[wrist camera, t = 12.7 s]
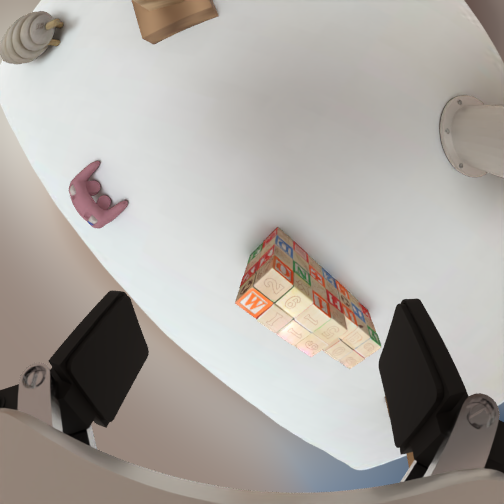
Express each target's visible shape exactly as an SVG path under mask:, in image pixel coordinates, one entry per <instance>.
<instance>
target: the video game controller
mask: <svg viewBox="0 0 504 504" xmlns="http://www.w3.org/2000/svg"><path fill="white" fill-rule="evenodd" d="M99 165H100V162H99V161H95V162H92V163H91V164H89V165H88V166H87V167H85V168H84V169H83V170H82V171H81V172H80V173H79V174H78V175H76V176H75V178H74V179H73V180H72V181H71V183H70V186H69V193H70V196H71V200H72V203H73V205H74V207H75V208H76V210H77V212H78V213H79V214H80V215H81V216H82V217H83V218H84V219H85V220H86V221H87V222H88V223H89V224H90V225H91V226H92V227H94V228H102V227H103V226H105V225H106V224H108V223H109V222H111V221H112V220H114V219H115V218H116V217H117V216H118V215H119V214H120V213H121V212H122V211H123V210H124V209H125V208H126V207H127V205H128V202H127V201H122V202H120V203H118V204H116V205H115V206H113V207H112V208H110V209H108V208H109V206H110V203H111V200H110V198H109V197H108V196H105V195H103V196H100V197H99V199H98V201H97V203H96V202H95V201H94V200H93V198H92V197H91V196H94V195H96V194H97V193H98V192H99V190H100V184H99V183H98V182H97V181H88V179H89V177H90V176H91V175H92V174H93V173H94V172H95V170H96V169H97V168H98V166H99Z"/></svg>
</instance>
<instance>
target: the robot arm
mask: <svg viewBox="0 0 504 504" xmlns="http://www.w3.org/2000/svg"><path fill="white" fill-rule="evenodd" d="M440 135H441V142H442V145H443V149H444V151H445V154H446V156H447V158H448V160H449V161H450V163H451V164H452V165H453V166H454V168H455V169H457V170H458V171H459V172H460V173H462V174H464V175H467V176H469V177H481V176H483V175H485V174H487V173H491V174H494V175H496V176H499V177H502V178H504V106H498V105H484V104H483V103H482V102H481V101H480V100H478V99H477V98H474V97H472V96H467V95H463V96H458V97H455V98H453V99H451V100H450V101H449V102H448V103H447V105H446V106H445V108H444V110H443V113H442V116H441V122H440ZM148 352H149V351H148V347H147V344H146V342H145V339H144V336H143V334H142V331H141V328H140V326H139V323H138V320H137V317H136V314H135V311H134V308H133V305H132V302H131V299H130V298H129V297H128V296H127V294H126V293H125V292H121V291H110V292H108V293H107V294H106V295H105V296H104V298H103V299H102V300H101V301H100V302H99V303H98V304H97V305H96V306H95V307H94V308H93V309H92V310H91V312H90V313H89V314H88V315H87V316H86V317H85V318H84V319H83V321H82V322H81V323H80V324H79V325H78V326H77V327H76V329H75V330H74V331H73V332H72V333H71V334H70V335H69V337H68V338H67V339H66V340H65V341H64V343H63V344H62V345H61V346H60V347H59V349H58V350H57V351H56V352H55V354H54V355H53V356H52V357H51V358H50V360H49V362H50V364H51V365H52V369H51V370H50V369H49V367H48V366H47V365H46V364H44V363H34V364H32V365H30V366H29V367H27V368H26V369H25V370H24V371H23V373H22V374H21V377H20V380H19V384H18V385H15V386H12V387H9V388H6V389H3V390H0V504H504V422H502V421H500V420H499V409H498V406H497V404H496V402H495V401H494V400H493V399H492V398H491V397H489V396H487V395H485V394H481V393H479V394H473V395H471V396H468V394H467V392H466V389H465V386H464V384H463V382H462V379H461V377H460V375H459V373H458V371H457V368H456V366H455V364H454V362H453V360H452V358H451V356H450V354H449V352H448V350H447V348H446V346H445V344H444V342H443V340H442V338H441V336H440V334H439V333H438V331H437V329H436V327H435V325H434V323H433V322H432V320H431V318H430V316H429V314H428V313H427V311H426V309H425V308H424V306H423V304H422V302H421V301H420V300H419V299H404V300H402V302H401V304H398V305H397V306H396V309H395V313H394V316H393V320H392V323H391V326H390V329H389V333H388V336H387V339H386V342H385V345H384V348H383V351H382V354H381V356H380V359H379V371H380V375H381V379H382V383H383V387H384V392H385V396H386V401H387V405H388V410H389V415H390V420H391V425H392V431H393V436H394V442H395V446H396V447H397V448H399V447H400V452H401V454H406V453H410V452H413V457H414V462H413V463H412V465H411V466H410V468H409V470H408V471H407V473H406V474H405V476H404V477H403V479H402V480H401V482H400V483H395V484H390V485H384V486H379V487H372V488H364V489H356V490H347V491H337V492H321V493H279V492H262V491H251V490H242V489H234V488H227V487H220V486H214V485H208V484H204V483H199V482H194V481H189V480H185V479H181V478H177V477H173V476H169V475H166V474H163V473H159V472H156V471H153V470H149V469H146V468H143V467H140V466H137V465H135V464H132V463H129V462H126V461H124V460H121V459H118V458H116V457H114V456H111V455H109V454H106V453H104V452H102V451H100V450H97V447H96V443H95V440H94V435H93V431H92V427H91V423H92V422H93V421H94V422H95V423H96V424H98V425H101V426H103V427H107V425H108V424H109V422H111V421H113V420H114V418H115V416H116V414H117V412H118V410H119V408H120V406H121V404H122V403H123V401H124V399H125V397H126V395H127V393H128V391H129V390H130V388H131V386H132V384H133V382H134V380H135V379H136V377H137V375H138V373H139V371H140V369H141V368H142V366H143V364H144V362H145V361H146V359H147V356H148Z"/></svg>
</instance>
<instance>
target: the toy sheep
mask: <svg viewBox="0 0 504 504" xmlns="http://www.w3.org/2000/svg"><path fill="white" fill-rule="evenodd" d="M55 27H56V28H61V27H63V22H60V20H59V19H54V20H53V18H52V16H51V15H50V14H48V13H47V12H43V11H39V12H32V13H30V14H27V15H25V16H23V17H21V18H19V19H18V20H17V21H16V22H15V23H14V24H13V25H12V26H11V27H10V28H9V29H8V30H7V32H6V34H5V35H4V37H3V38H2V41H1V43H0V55H1V57H2V59H3V61H5V62H7V63H13V64H22V63H28V62H31V61H33V60H34V59H36V58H37V57H38V56H39V55H41V54H42V53H43V52H44V51H45V50H46V49H47V48H48V46H49V45H53V46H58V45H59V43H60V41H59V40H56V39H52V37H53V34H54V30H55Z"/></svg>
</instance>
